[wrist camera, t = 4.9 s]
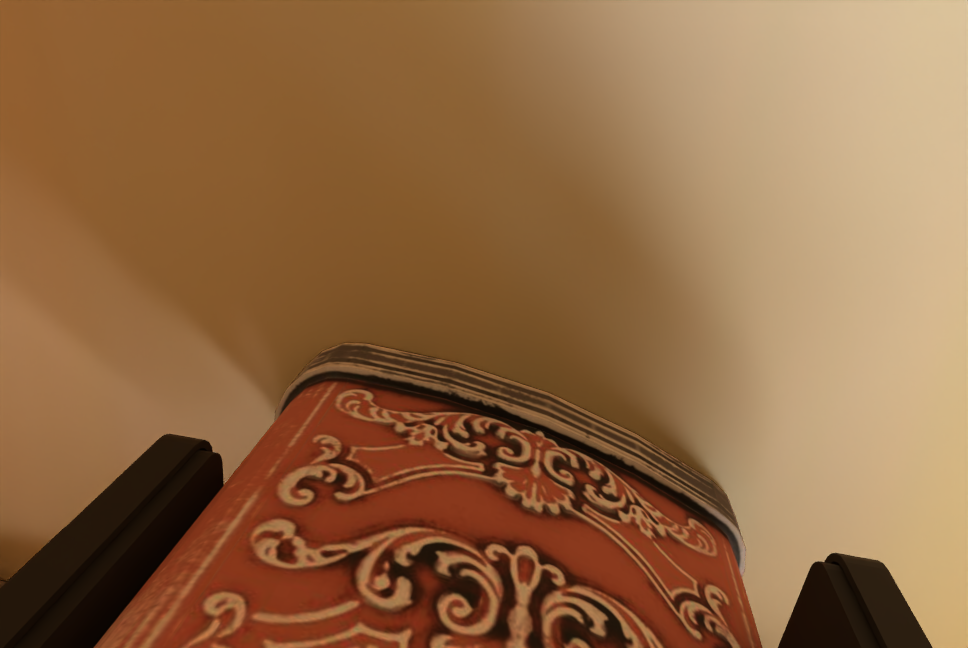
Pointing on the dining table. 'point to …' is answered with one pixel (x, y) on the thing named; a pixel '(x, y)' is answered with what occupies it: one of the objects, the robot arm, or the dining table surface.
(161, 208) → the dining table surface
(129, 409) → the dining table surface
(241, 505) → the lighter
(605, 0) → the dining table surface
